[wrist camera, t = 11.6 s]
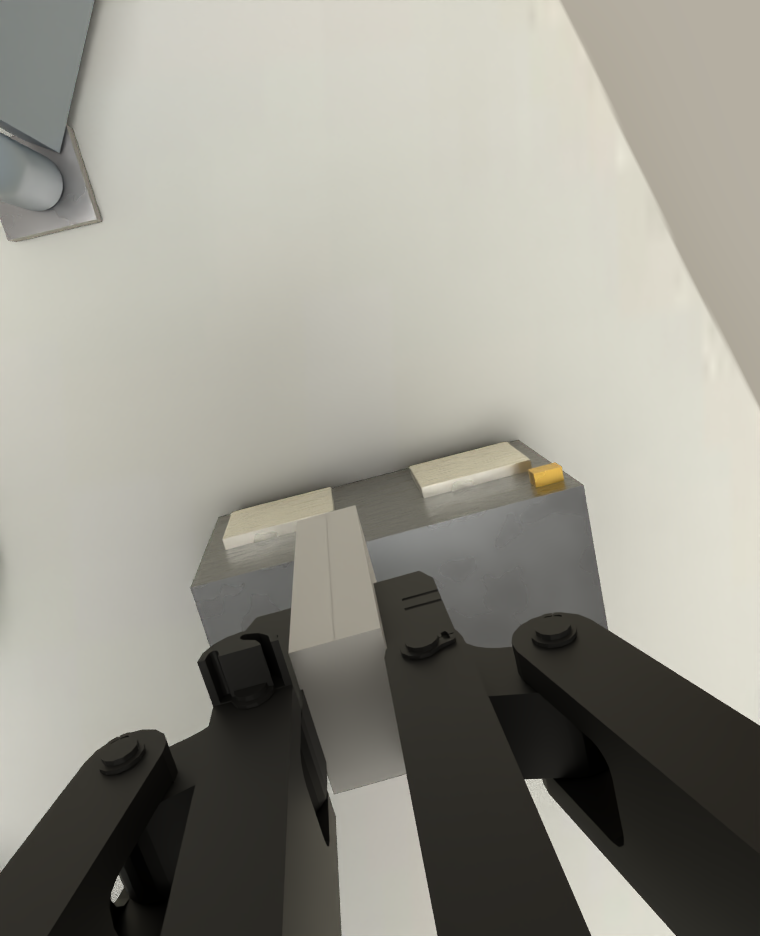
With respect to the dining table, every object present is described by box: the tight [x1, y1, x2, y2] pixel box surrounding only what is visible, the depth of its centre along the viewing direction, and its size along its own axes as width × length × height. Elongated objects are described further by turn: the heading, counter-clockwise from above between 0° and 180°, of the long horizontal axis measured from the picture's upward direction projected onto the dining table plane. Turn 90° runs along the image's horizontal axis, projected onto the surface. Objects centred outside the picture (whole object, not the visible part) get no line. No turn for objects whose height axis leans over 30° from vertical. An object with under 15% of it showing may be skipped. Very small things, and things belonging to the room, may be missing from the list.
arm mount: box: [0, 124, 102, 242], centre depth 31 cm, size 4×4×1 cm
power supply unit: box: [191, 440, 608, 648], centre depth 33 cm, size 16×9×9 cm, turn 104°
